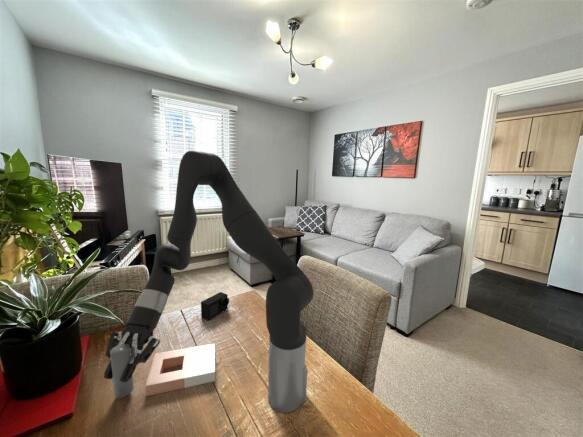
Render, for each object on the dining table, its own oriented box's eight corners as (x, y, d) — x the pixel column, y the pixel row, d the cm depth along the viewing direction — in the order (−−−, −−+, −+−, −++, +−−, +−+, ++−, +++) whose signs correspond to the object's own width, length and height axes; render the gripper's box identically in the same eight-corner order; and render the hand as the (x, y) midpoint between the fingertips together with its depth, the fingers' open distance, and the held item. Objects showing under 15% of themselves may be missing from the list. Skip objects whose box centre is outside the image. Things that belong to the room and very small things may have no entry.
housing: (214, 351, 79) (214, 343, 78) (215, 381, 68) (215, 371, 67) (155, 362, 74) (155, 353, 73) (146, 396, 62) (145, 386, 62)
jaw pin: (135, 382, 65) (131, 342, 63) (130, 395, 61) (126, 353, 59) (117, 386, 64) (113, 345, 62) (112, 399, 60) (107, 356, 58)
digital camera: (210, 322, 95) (210, 305, 93) (201, 317, 97) (200, 301, 96) (229, 310, 103) (229, 295, 102) (220, 306, 106) (220, 291, 105)
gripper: (118, 302, 67) (78, 374, 58) (164, 308, 65) (131, 384, 55) (135, 309, 74) (102, 376, 64) (177, 315, 71) (149, 385, 61)
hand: (115, 379), depth 60 cm, fingers closed on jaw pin, 4 cm apart
